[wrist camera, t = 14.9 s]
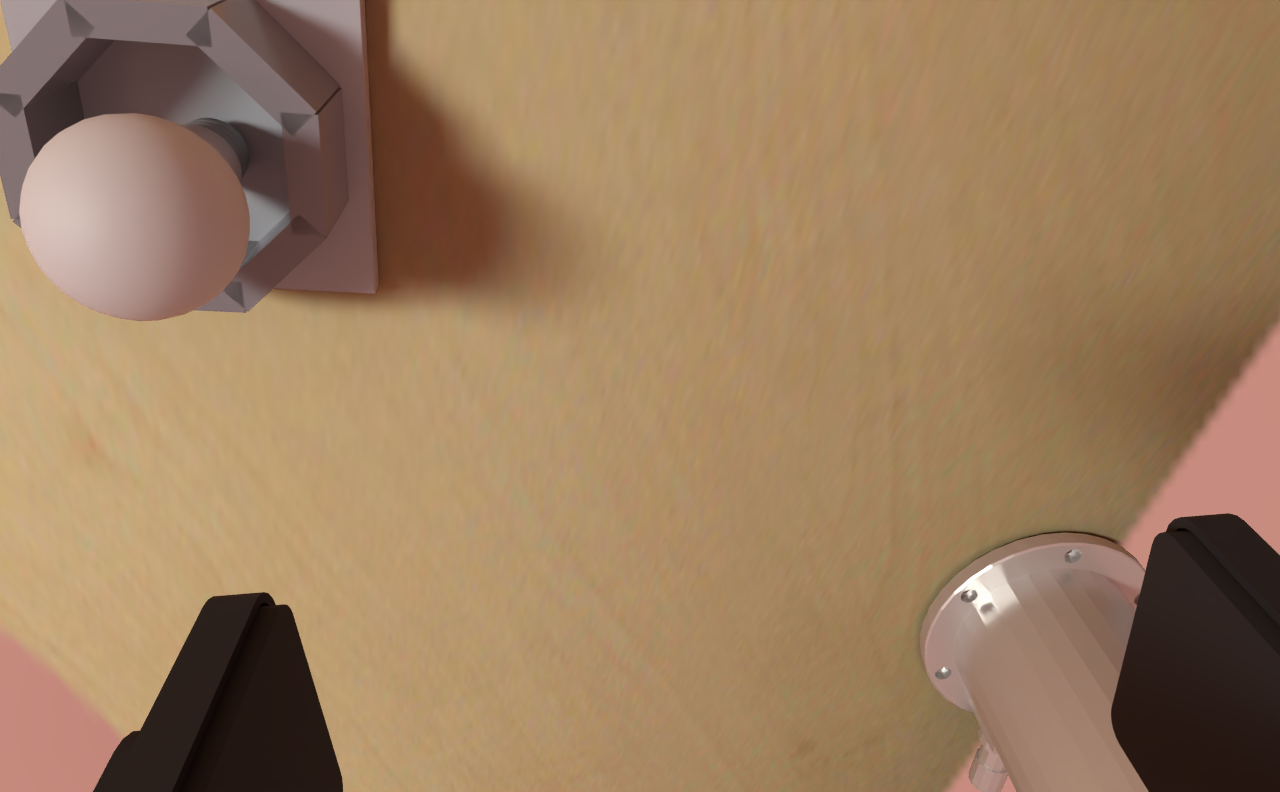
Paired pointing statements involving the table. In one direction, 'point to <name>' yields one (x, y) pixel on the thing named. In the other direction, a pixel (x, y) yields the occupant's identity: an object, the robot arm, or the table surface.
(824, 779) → the table surface
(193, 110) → the socket
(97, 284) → the lightbulb
